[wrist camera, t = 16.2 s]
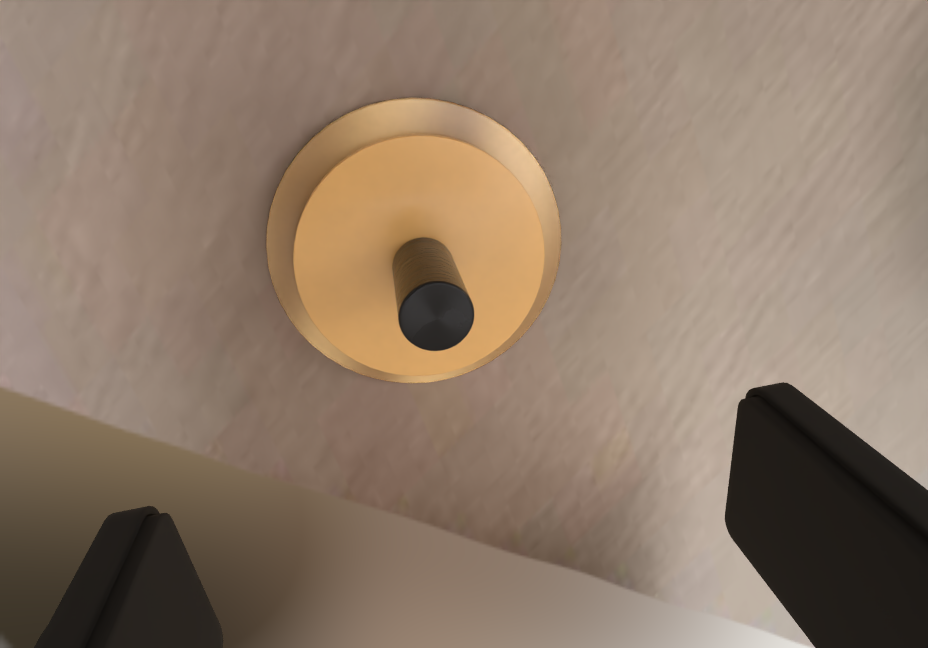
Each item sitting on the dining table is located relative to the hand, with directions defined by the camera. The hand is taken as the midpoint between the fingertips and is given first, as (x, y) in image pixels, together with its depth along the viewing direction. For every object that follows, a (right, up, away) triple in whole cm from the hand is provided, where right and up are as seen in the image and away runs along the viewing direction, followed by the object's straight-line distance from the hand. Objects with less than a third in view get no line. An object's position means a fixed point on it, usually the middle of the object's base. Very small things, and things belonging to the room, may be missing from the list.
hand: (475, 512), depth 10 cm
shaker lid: (-2, +6, +13) cm, 15 cm away
